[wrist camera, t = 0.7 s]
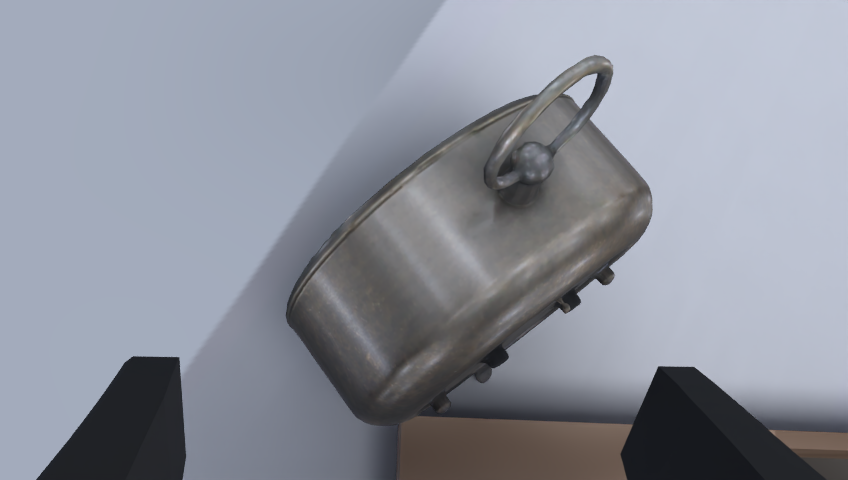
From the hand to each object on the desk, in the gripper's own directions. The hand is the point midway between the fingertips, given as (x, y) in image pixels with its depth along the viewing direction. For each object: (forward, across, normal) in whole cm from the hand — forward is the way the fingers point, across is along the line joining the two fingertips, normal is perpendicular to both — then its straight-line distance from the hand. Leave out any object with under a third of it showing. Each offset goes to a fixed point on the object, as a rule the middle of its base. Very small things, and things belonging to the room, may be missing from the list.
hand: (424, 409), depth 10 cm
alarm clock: (+13, -4, +10) cm, 17 cm away
